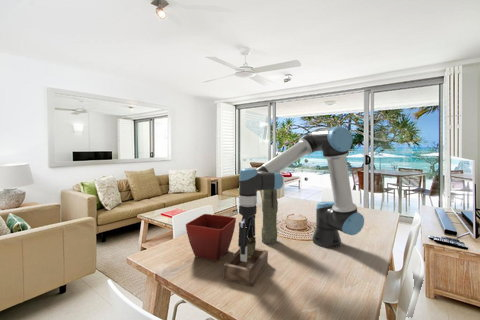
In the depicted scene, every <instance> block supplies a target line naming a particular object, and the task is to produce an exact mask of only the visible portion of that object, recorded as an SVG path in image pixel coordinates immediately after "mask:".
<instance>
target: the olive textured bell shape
mask: <svg viewBox="0 0 480 320" xmlns="http://www.w3.org/2000/svg"><path fill="white" fill-rule="evenodd" d="M250 240H251V241H250ZM256 241H257V240H256V238H255V239H254V238H253V237H252V238H250V237H249V238H248V237H247V244H246V246H247V259H250V258H251V255H252V254H253V253H254V251H255V248H256V244H257V243H256ZM238 247H239V248H238V249H240V252H241V247H240V246H238Z"/></svg>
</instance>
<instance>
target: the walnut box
mask: <svg viewBox="0 0 480 320" xmlns="http://www.w3.org/2000/svg"><path fill="white" fill-rule="evenodd" d="M268 252H269V251H268V250H267V249H260V248H256V247H255V251H254V253H253V255H251V258H250V259H247V262H243V261H240V254H241V252H240V248H238V250H237V251H236V252H235V253H234V254H233V255H232V256H230V258H228V260H227V261H225V263H224V264H223V280H225V281H229V282H233V283H237V284H240V285H245V286H248V287H254V285H255V284H256V282H257V281H258V280H259V278H260V276H261V275H262V273H263V272H264V269H265V268H266V267H267V265H268V264H269V263H268V262H269V261H268V260H269V259H268V254H269V253H268Z"/></svg>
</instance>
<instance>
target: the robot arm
mask: <svg viewBox="0 0 480 320" xmlns="http://www.w3.org/2000/svg"><path fill="white" fill-rule="evenodd" d="M352 145H353V135H352V133H351V132H350V131H349V129H348V128H346V127H345V126H344V127H343V126H329V127H321V128H320V127H319V128H317V129H314V130H312V131H311V132H309V133H307V134H306V135H304V136H302V137H300V138H299V140H298V141H297V142H296V143H295V144H294V145H292V146H290V147H289V148H287V149H286V150H283V152H281V153H279V154H278V155H276V156H275V157H273V158H271V159H270V160H269V161H267V162H265V163H263V164H262V165H260V166H259V167H257V168H251V167H250V168H247V167H246V168H245V167H244V168H241V169H240V170H239V175H238V176H239V179H238V182H239V184H238V187H239V188H238V190H239V192H238V203H239V206H238V213H239V215H241V217H242V218H241V221H240V222H238V228H239V229H238V243H237V246H238V247H239V246H240V247H241V254H240V261H243V262H247V246H246V244H247V237H248V239H249V237H250V238H252V237H253V238H254V239H255V240H256V215H257V211H258V210H257V203H258V191H263V190H276V189H277V190H281V189H282V187H283V186H284V177H283V175H282V174H281V173H280V172H282V171H284V170H285V169H286V168H288V167H289V166H291V165H292V164H294V163H295V162H297V161H298V160H300V159H301V158H303V157H305V156H307V155H311V154H313V153H316V152H319V151H320V152H322V157H323V158H324V159H326V161H327V167H328V172H329V178H330V185H331V191H332V199H333V201H319V202H318V203H316V204H317V205H316V208H315V210H316V214H315V217H316V218H315V230H314V232H313V234H312V242H313V243H314V244H316V245H317V246H320V247H322V248H332V249H333V248H339V247H341V245H342V239H341V236H340V233H339V232H342V233H343V234H346V235H348V236H356V235H358V234H359V233H360V232H361V231H362V229H363V228H364V225H365V217H364V215H363V214H361V213H360V212H358V206H357V205H356V204H355V203H354V202H353V196H352V195H353V194H352V189H351V183H350V175H349V169H348V162H347V156H348V154H349V150H350V149H351V147H352ZM250 241H251V240H250ZM252 255H253V254H252Z"/></svg>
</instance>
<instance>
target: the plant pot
mask: <svg viewBox="0 0 480 320" xmlns="http://www.w3.org/2000/svg"><path fill="white" fill-rule="evenodd" d="M236 221H237V218H236V217H233V216H225V215H219V214H218V215H217V214H209V213H203V214H201V215H199V216H198V217H196V218H194V219H193V220H190V221H189V222H187V223H185V229H186V234H187V238H188V241H189V244H190V247H191V250H192V252H193V254H194V256H195V258H200V259H206V260H210V261H214V262H215V261H216V262H217V261H220V259H222V257H223V256H224V255H225V254H226V253H227V252H228V251H229V250H230V246H231V243H232V240H233V235H234V233H235V226H236Z"/></svg>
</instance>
